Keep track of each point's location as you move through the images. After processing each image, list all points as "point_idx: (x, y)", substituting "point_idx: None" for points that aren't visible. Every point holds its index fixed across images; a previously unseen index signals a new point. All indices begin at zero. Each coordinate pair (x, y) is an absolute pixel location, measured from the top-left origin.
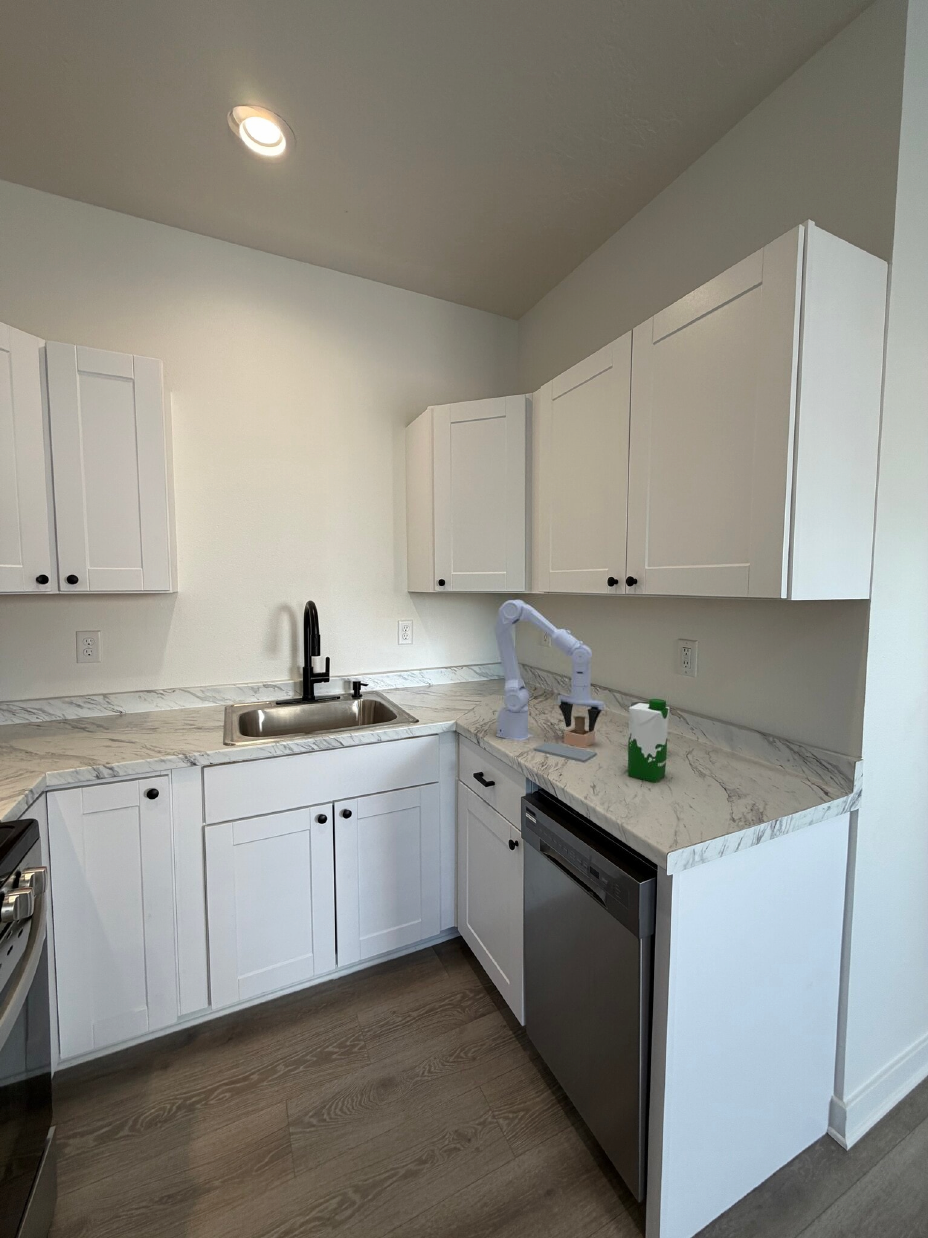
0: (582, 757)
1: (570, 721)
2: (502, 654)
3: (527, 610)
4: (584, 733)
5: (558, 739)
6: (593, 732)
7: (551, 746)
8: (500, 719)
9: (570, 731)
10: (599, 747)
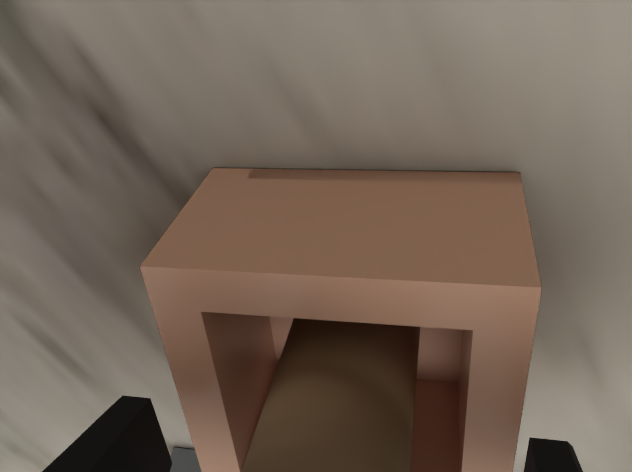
0: None
1: (113, 468)
2: None
3: None
4: (412, 394)
5: (98, 257)
6: (532, 336)
7: None
8: None
9: (232, 429)
10: (624, 256)
